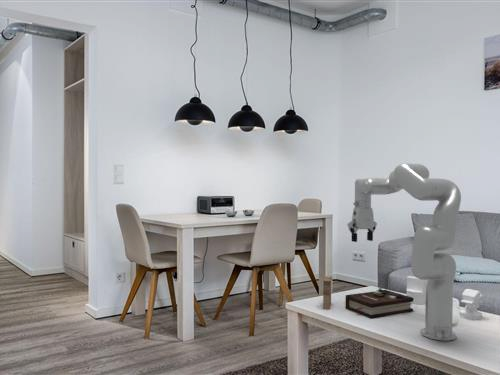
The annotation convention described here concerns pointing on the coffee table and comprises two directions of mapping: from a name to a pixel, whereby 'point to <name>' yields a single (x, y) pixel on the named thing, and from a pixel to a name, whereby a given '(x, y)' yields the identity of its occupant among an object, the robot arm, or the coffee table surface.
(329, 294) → the bookend
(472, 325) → the coffee table surface
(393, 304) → the decorative book
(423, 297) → the cylinder with rectangular tab
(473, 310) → the character figurine
